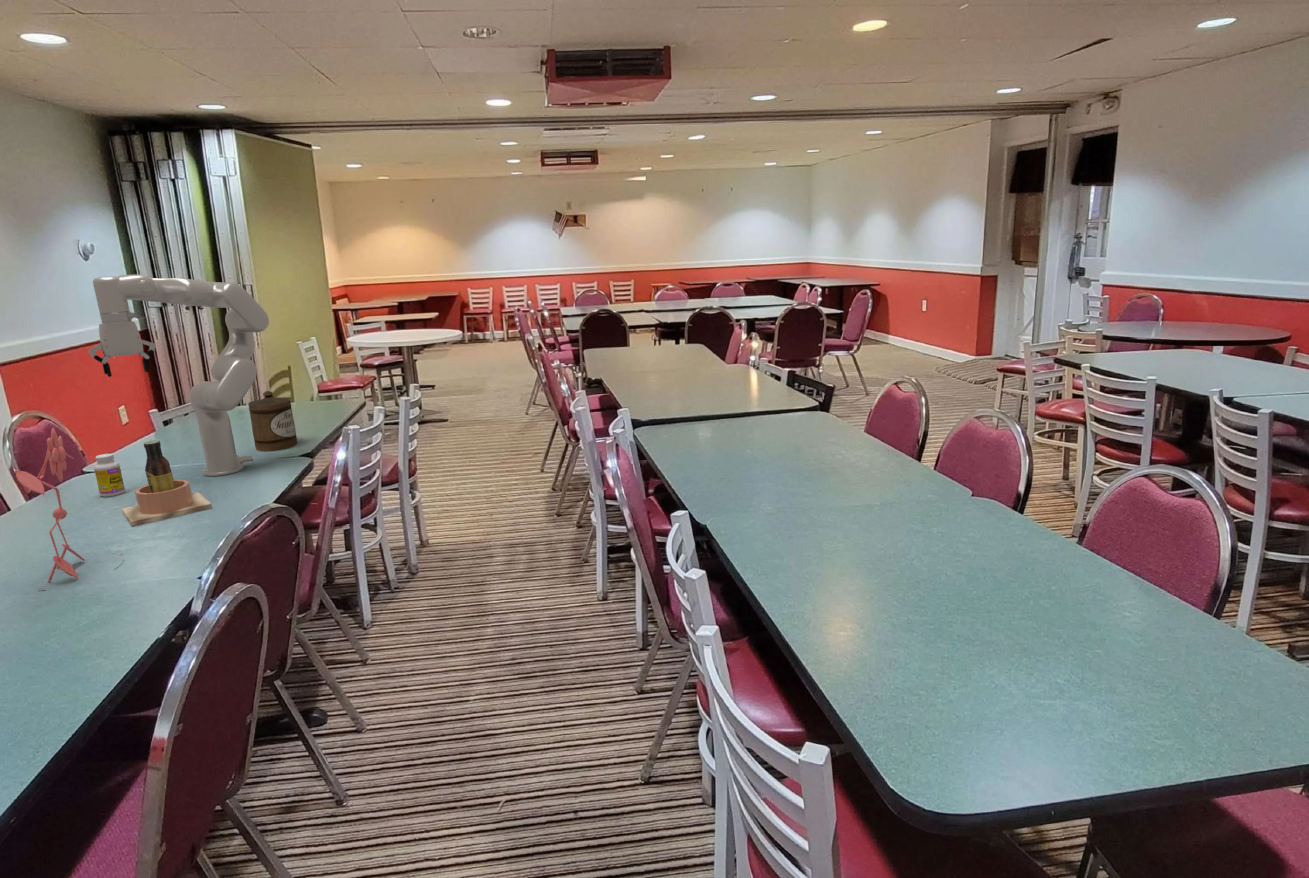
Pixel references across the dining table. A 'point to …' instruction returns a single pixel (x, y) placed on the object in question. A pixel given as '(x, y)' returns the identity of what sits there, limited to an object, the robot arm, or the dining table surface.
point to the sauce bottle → (157, 468)
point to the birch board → (138, 518)
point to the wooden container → (272, 423)
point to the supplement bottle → (108, 476)
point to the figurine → (57, 465)
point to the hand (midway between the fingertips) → (128, 374)
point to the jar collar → (164, 498)
